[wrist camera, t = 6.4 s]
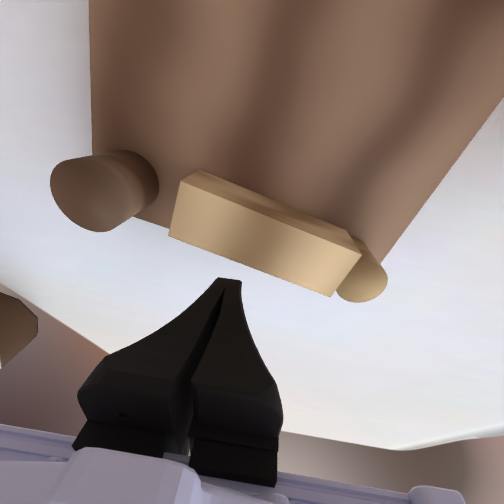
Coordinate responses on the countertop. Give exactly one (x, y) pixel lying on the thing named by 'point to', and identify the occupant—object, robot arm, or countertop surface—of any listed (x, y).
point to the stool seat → (283, 106)
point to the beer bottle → (15, 327)
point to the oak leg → (274, 238)
